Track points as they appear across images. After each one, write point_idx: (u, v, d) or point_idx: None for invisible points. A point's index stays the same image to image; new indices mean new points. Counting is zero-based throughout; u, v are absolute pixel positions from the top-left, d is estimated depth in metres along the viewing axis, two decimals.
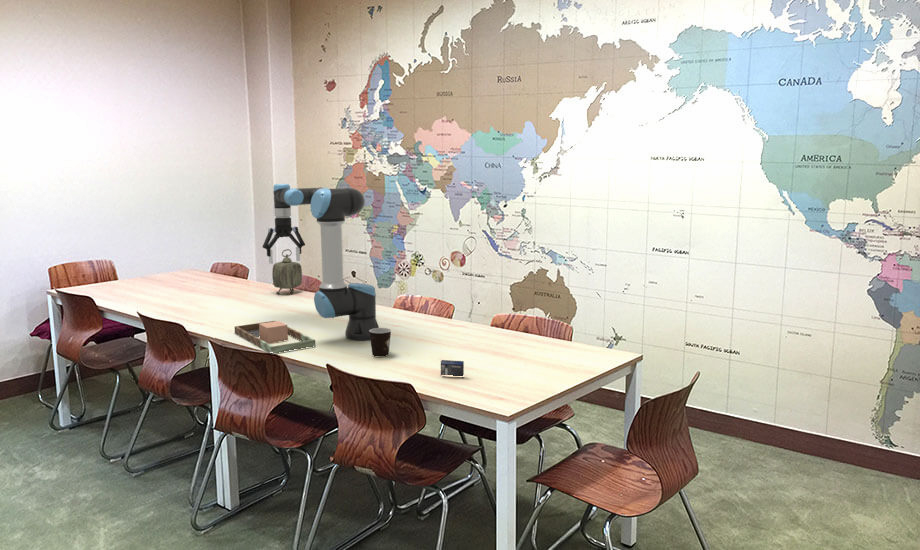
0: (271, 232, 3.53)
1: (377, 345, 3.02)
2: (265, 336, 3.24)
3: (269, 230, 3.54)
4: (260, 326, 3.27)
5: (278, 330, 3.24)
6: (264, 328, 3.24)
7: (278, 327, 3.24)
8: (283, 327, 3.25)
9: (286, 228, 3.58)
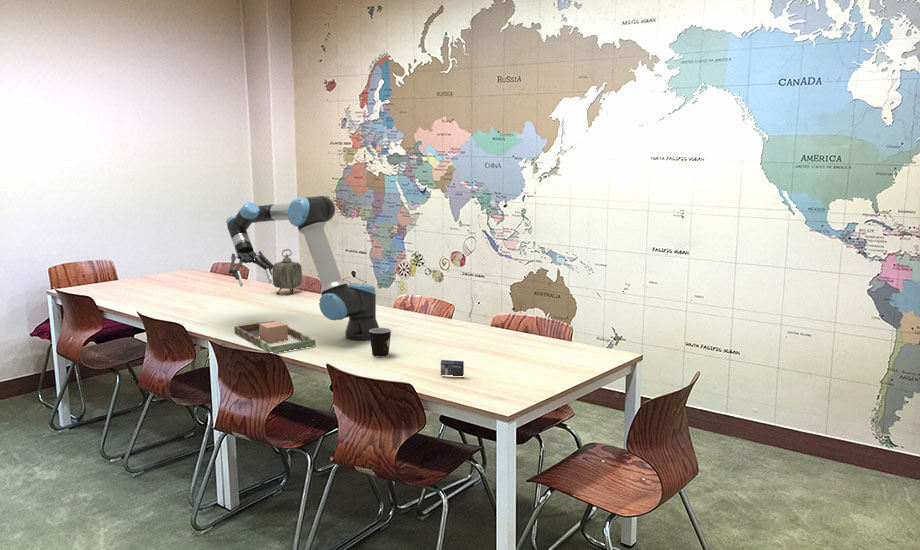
0: (233, 256, 3.41)
1: (377, 345, 3.02)
2: (265, 336, 3.24)
3: (231, 256, 3.42)
4: (260, 326, 3.27)
5: (278, 330, 3.24)
6: (264, 328, 3.24)
7: (278, 327, 3.24)
8: (283, 327, 3.25)
9: (249, 252, 3.46)
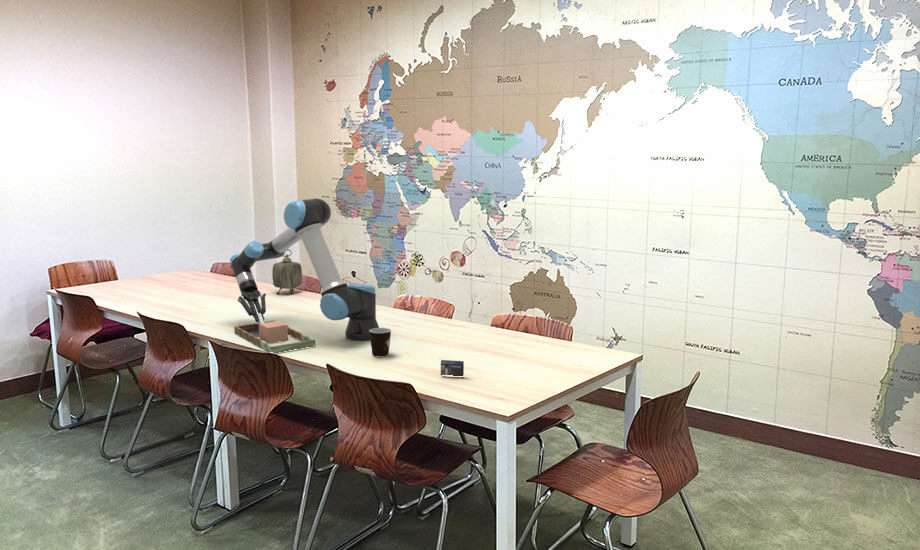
0: (242, 299, 3.40)
1: (377, 345, 3.02)
2: (265, 336, 3.23)
3: (239, 300, 3.41)
4: (260, 326, 3.27)
5: (278, 330, 3.24)
6: (264, 328, 3.23)
7: (278, 327, 3.24)
8: (283, 327, 3.25)
9: (254, 289, 3.46)
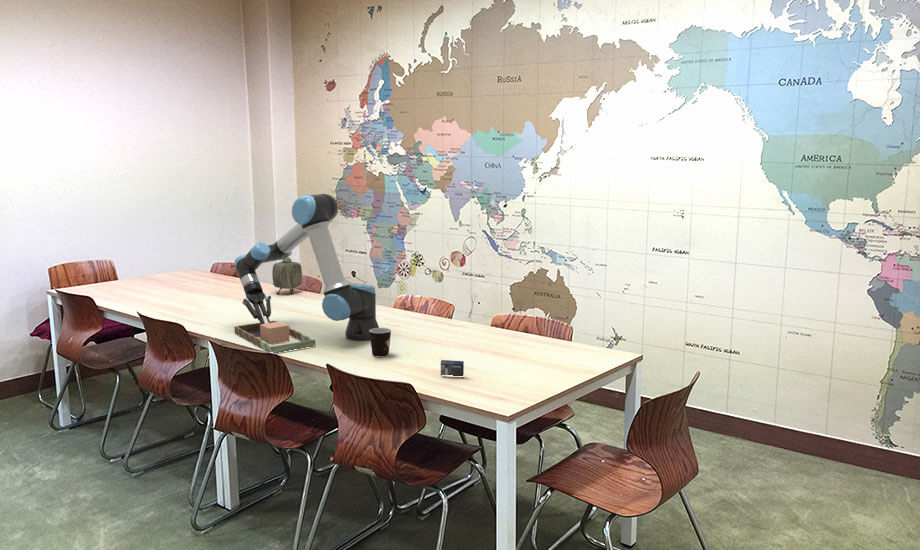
0: (247, 301, 3.33)
1: (377, 345, 3.02)
2: (267, 336, 3.22)
3: (244, 302, 3.34)
4: (261, 327, 3.25)
5: (279, 330, 3.23)
6: (266, 329, 3.22)
7: (280, 328, 3.23)
8: (285, 327, 3.24)
9: (259, 291, 3.39)
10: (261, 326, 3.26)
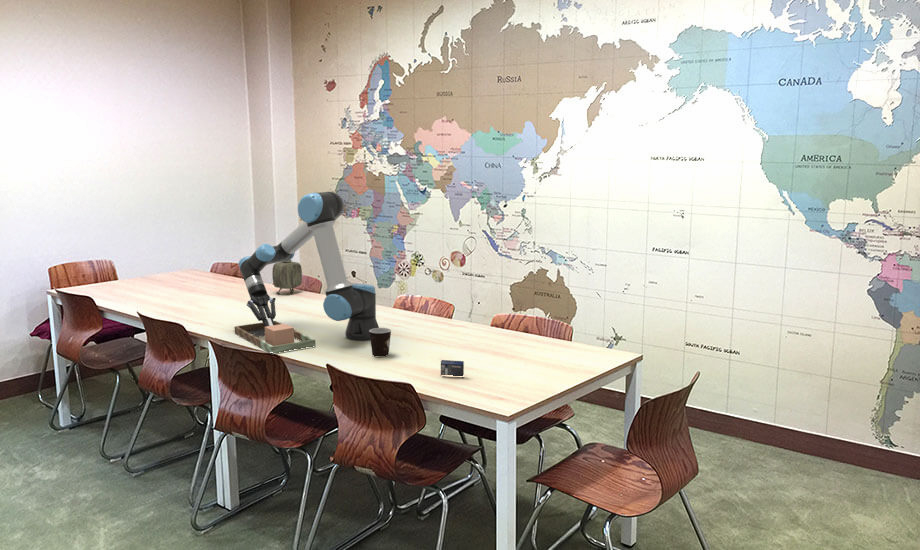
0: (251, 303, 3.29)
1: (377, 345, 3.02)
2: (271, 339, 3.18)
3: (248, 304, 3.30)
4: (266, 329, 3.22)
5: (284, 333, 3.19)
6: (270, 331, 3.18)
7: (284, 330, 3.19)
8: (289, 330, 3.20)
9: (263, 293, 3.35)
10: (266, 328, 3.22)
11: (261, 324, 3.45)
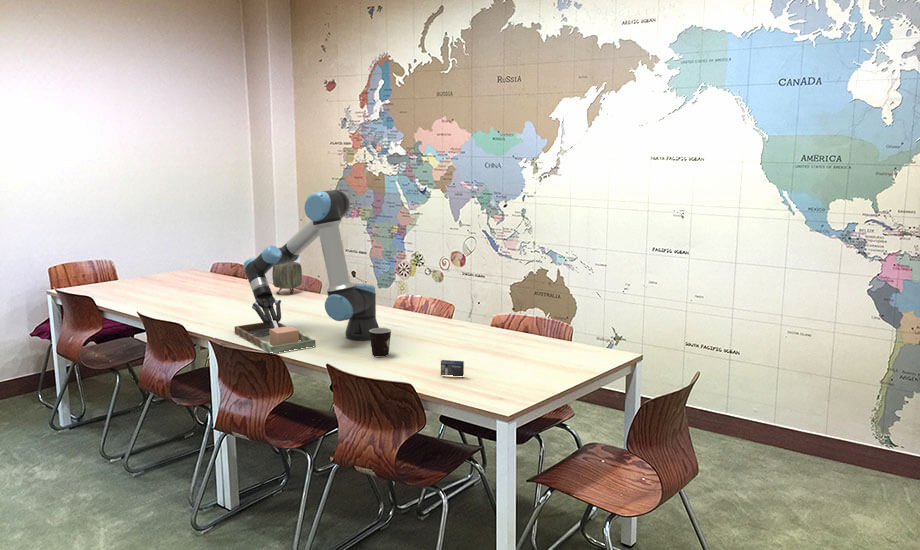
0: (256, 306, 3.26)
1: (377, 345, 3.02)
2: (275, 341, 3.14)
3: (253, 307, 3.26)
4: (270, 331, 3.18)
5: (289, 335, 3.15)
6: (275, 333, 3.14)
7: (289, 332, 3.15)
8: (294, 332, 3.16)
9: (268, 295, 3.32)
10: (270, 331, 3.18)
11: (261, 324, 3.45)
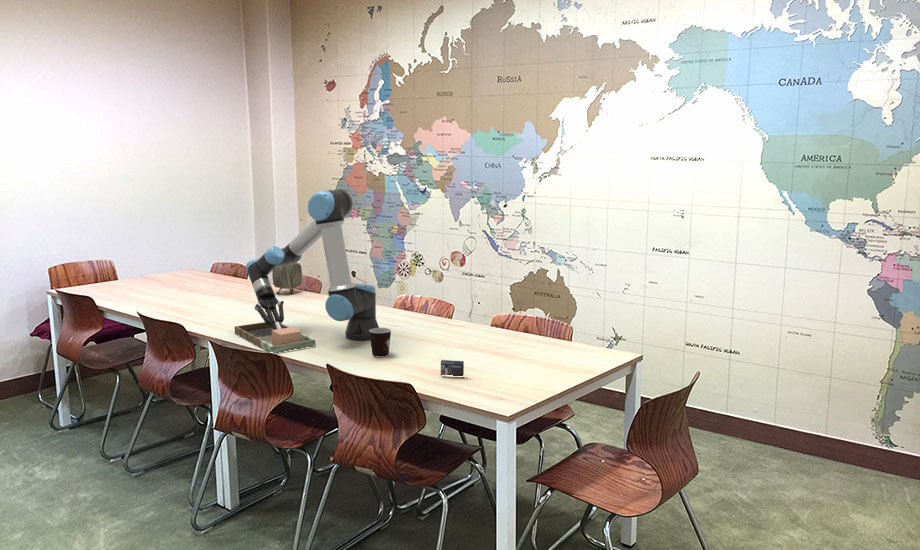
0: (259, 307, 3.24)
1: (377, 345, 3.02)
2: (278, 343, 3.13)
3: (256, 308, 3.25)
4: (273, 333, 3.16)
5: (291, 337, 3.13)
6: (277, 335, 3.13)
7: (291, 334, 3.13)
8: (296, 334, 3.14)
9: (271, 296, 3.30)
10: (273, 332, 3.16)
11: (261, 324, 3.45)
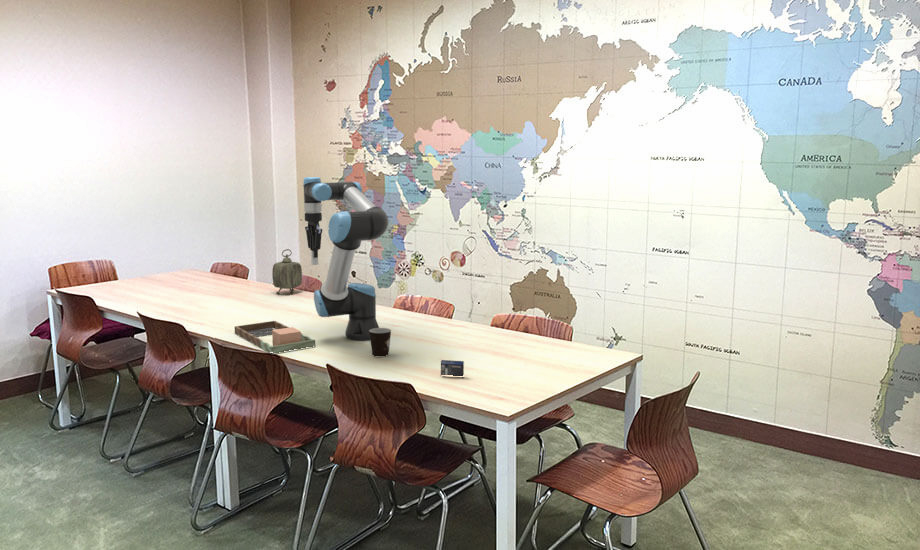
0: (306, 230, 3.44)
1: (377, 345, 3.02)
2: (278, 342, 3.13)
3: None
4: (273, 332, 3.16)
5: (291, 337, 3.13)
6: (277, 335, 3.13)
7: (291, 334, 3.13)
8: (296, 334, 3.14)
9: (312, 221, 3.38)
10: (273, 332, 3.17)
11: (261, 324, 3.45)
